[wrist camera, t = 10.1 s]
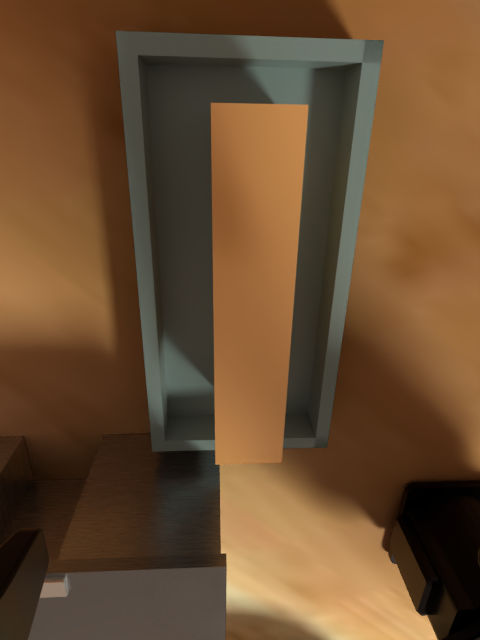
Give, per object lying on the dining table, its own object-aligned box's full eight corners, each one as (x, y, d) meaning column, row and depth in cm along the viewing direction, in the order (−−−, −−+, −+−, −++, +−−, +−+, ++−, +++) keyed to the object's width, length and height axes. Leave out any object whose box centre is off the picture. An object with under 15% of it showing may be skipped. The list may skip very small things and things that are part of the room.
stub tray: (360, 53, 15) (384, 40, 13) (316, 416, 22) (327, 447, 20) (130, 45, 14) (115, 30, 12) (158, 419, 21) (152, 451, 19)
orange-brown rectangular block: (280, 112, 15) (308, 104, 11) (266, 387, 20) (281, 462, 16) (212, 110, 15) (210, 102, 10) (215, 388, 20) (215, 464, 15)
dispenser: (222, 429, 22) (226, 571, 15) (222, 539, 25) (225, 696, 18) (-105, 435, 21) (-268, 591, 14) (-58, 549, 24) (-169, 719, 17)
